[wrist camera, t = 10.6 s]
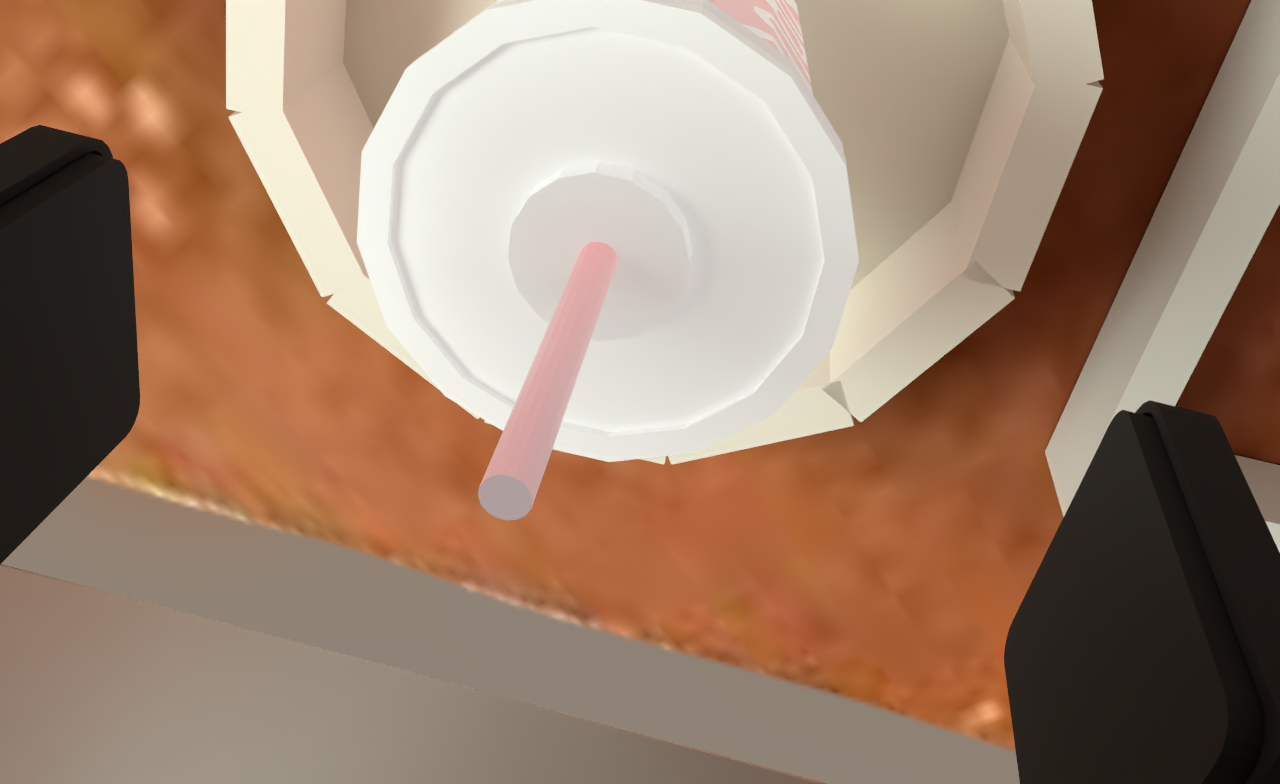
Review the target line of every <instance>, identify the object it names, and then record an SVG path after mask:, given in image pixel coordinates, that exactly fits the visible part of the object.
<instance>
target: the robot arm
mask: <svg viewBox="0 0 1280 784" xmlns="http://www.w3.org/2000/svg"><path fill="white" fill-rule="evenodd" d="M139 405H140V389H139V370H138V352H137V333H136V315H135V296H134V277H133V259H132V240H131V222H130V203H129V185H128V176H127V171H126V169H125V166H124V164H123V163H122V162H121V161H120V160H116V159H113V156H112V154H111V151H110V149H109V147H108V146H107V145H106V144H105V143H104V142H103V141H102V140H98V139H94V138H90V137H86V136H82V135H78V134H74V133H70V132H66V131H62V130H58V129H54V128H50V127H46V126H42V125H38V126H35V127H31V128H29V129H27V130H26V131H24V132H22V133H20V134H18V135H16V136H14V137H13V138H11V139H9V140H7V141H5V142H3V143H1V144H0V784H825V783H822V782H818V781H814V780H811V779H807V778H803V777H799V776H796V775H792V774H789V773H785V772H781V771H778V770H773V769H769V768H766V767H763V766H759V765H755V764H752V763H748V762H744V761H741V760H737V759H733V758H730V757H726V756H722V755H719V754H715V753H711V752H708V751H704V750H700V749H697V748H693V747H689V746H685V745H681V744H678V743H674V742H670V741H667V740H663V739H659V738H656V737H652V736H648V735H644V734H641V733H637V732H633V731H629V730H625V729H622V728H618V727H615V726H610V725H607V724H603V723H599V722H595V721H592V720H588V719H584V718H581V717H577V716H574V715H570V714H566V713H562V712H558V711H555V710H551V709H547V708H544V707H540V706H536V705H532V704H529V703H525V702H521V701H518V700H514V699H510V698H506V697H502V696H499V695H495V694H491V693H488V692H484V691H480V690H476V689H472V688H469V687H465V686H461V685H457V684H454V683H450V682H446V681H443V680H439V679H435V678H431V677H428V676H424V675H420V674H416V673H412V672H409V671H405V670H401V669H398V668H394V667H390V666H386V665H383V664H379V663H375V662H372V661H368V660H364V659H360V658H356V657H353V656H349V655H345V654H341V653H337V652H333V651H329V650H326V649H322V648H318V647H314V646H311V645H307V644H303V643H299V642H296V641H292V640H288V639H284V638H280V637H277V636H273V635H269V634H265V633H261V632H258V631H254V630H250V629H246V628H242V627H239V626H235V625H231V624H227V623H223V622H220V621H216V620H212V619H208V618H204V617H201V616H197V615H193V614H189V613H185V612H182V611H178V610H174V609H170V608H166V607H163V606H159V605H155V604H151V603H147V602H144V601H140V600H136V599H132V598H129V597H125V596H121V595H117V594H113V593H109V592H106V591H102V590H98V589H94V588H91V587H87V586H83V585H79V584H75V583H72V582H68V581H64V580H60V579H56V578H52V577H48V576H45V575H41V574H37V573H33V572H29V571H25V570H21V569H18V568H14V567H10V566H5V565H2V564H1V563H2V562H3V561H4V560H5V559H6V558H7V557H8V556H9V555H10V554H11V553H12V552H13V551H14V550H15V549H16V548H17V547H18V546H19V545H20V544H21V543H22V542H23V541H24V539H26V537H28V536H29V535H30V533H31V532H32V531H33V530H34V529H35V528H36V527H37V526H38V525H39V524H40V523H41V522H42V521H43V520H44V519H45V518H46V517H47V516H48V515H49V514H50V513H51V512H52V511H53V510H54V509H55V508H56V507H57V506H58V505H59V504H60V503H61V502H62V501H63V500H64V499H65V498H66V497H67V496H68V495H69V494H70V493H71V492H72V491H73V490H74V489H75V488H76V487H77V486H78V485H79V484H80V483H81V482H82V481H83V480H84V479H85V478H86V477H87V476H88V475H89V474H90V472H91V471H92V470H93V469H94V468H95V467H96V466H97V465H98V464H99V463H100V462H101V461H102V460H103V459H104V458H105V457H106V456H107V455H108V454H109V453H110V452H111V451H112V450H113V449H114V448H115V447H116V446H117V445H118V444H119V443H120V442H121V441H122V440H123V439H124V438H125V437H126V436H127V434H128V433H129V432H130V430H131V429H132V427H133V425H134V423H135V420H136V417H137V415H138V410H139ZM1004 663H1005V672H1006V680H1007V687H1008V695H1009V702H1010V710H1011V718H1012V725H1013V733H1014V740H1015V748H1016V756H1017V763H1018V770H1019V778H1020V784H1280V552H1279V550H1278V548H1277V546H1276V544H1275V541H1274V539H1273V537H1272V535H1271V533H1270V531H1269V529H1268V526H1267V524H1266V522H1265V520H1264V518H1263V516H1262V513H1261V511H1260V509H1259V507H1258V505H1257V503H1256V500H1255V498H1254V496H1253V494H1252V492H1251V490H1250V487H1249V485H1248V483H1247V481H1246V479H1245V477H1244V474H1243V472H1242V470H1241V468H1240V466H1239V464H1238V461H1237V459H1236V457H1235V455H1234V453H1233V451H1232V448H1231V446H1230V444H1229V442H1228V440H1227V438H1226V435H1225V433H1224V431H1223V429H1222V427H1221V425H1220V422H1219V421H1218V420H1217V419H1216V417H1215V416H1211V415H1207V414H1203V413H1199V412H1195V411H1191V410H1187V409H1183V408H1179V407H1175V406H1171V405H1167V404H1163V403H1159V402H1155V401H1151V400H1149V401H1147V402H1145V403H1143V404H1142V405H1141V406H1140V407H1139V409H1138V410H1137V411H1136V412H1135V413H1134V412H1130V411H1126V410H1122V411H1120V412H1118V413H1117V414H1116V415H1115V416H1114V418H1113V419H1112V421H1111V423H1110V424H1109V426H1108V428H1107V430H1106V432H1105V434H1104V436H1103V438H1102V440H1101V443H1100V445H1099V447H1098V449H1097V451H1096V453H1095V455H1094V457H1093V459H1092V461H1091V463H1090V465H1089V467H1088V469H1087V471H1086V473H1085V475H1084V477H1083V479H1082V481H1081V483H1080V485H1079V487H1078V489H1077V491H1076V493H1075V495H1074V497H1073V499H1072V502H1071V504H1070V506H1069V508H1068V510H1067V512H1066V514H1065V516H1064V518H1063V520H1062V522H1061V524H1060V526H1059V528H1058V530H1057V532H1056V534H1055V536H1054V538H1053V540H1052V542H1051V544H1050V546H1049V548H1048V550H1047V552H1046V554H1045V556H1044V558H1043V561H1042V563H1041V565H1040V567H1039V569H1038V571H1037V573H1036V575H1035V577H1034V579H1033V581H1032V583H1031V585H1030V587H1029V589H1028V591H1027V593H1026V595H1025V597H1024V599H1023V601H1022V603H1021V605H1020V607H1019V609H1018V611H1017V613H1016V615H1015V617H1014V620H1013V622H1012V624H1011V626H1010V629H1009V632H1008V636H1007V640H1006V645H1005V654H1004Z"/></svg>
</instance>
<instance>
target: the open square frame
mask: <svg viewBox="0 0 1280 784" xmlns="http://www.w3.org/2000/svg"><path fill="white" fill-rule="evenodd" d="M1279 204H1280V0H1251V3H1250V5H1249V7H1248V9H1247V11H1246V14H1245V16H1244V18H1243V20H1242V22H1241V24H1240V27H1239V29H1238V31H1237V33H1236V35H1235V38H1234V40H1233V42H1232V44H1231V46H1230V48H1229V51H1228V53H1227V55H1226V57H1225V59H1224V62H1223V64H1222V66H1221V68H1220V70H1219V72H1218V75H1217V77H1216V79H1215V81H1214V83H1213V86H1212V88H1211V90H1210V92H1209V94H1208V97H1207V99H1206V101H1205V103H1204V105H1203V107H1202V110H1201V112H1200V114H1199V116H1198V118H1197V121H1196V123H1195V125H1194V127H1193V129H1192V131H1191V134H1190V136H1189V138H1188V140H1187V142H1186V145H1185V147H1184V149H1183V151H1182V153H1181V156H1180V158H1179V160H1178V162H1177V164H1176V166H1175V169H1174V171H1173V173H1172V175H1171V177H1170V180H1169V182H1168V184H1167V186H1166V188H1165V190H1164V193H1163V195H1162V197H1161V199H1160V201H1159V204H1158V206H1157V208H1156V210H1155V212H1154V214H1153V217H1152V219H1151V221H1150V223H1149V225H1148V228H1147V230H1146V232H1145V234H1144V236H1143V239H1142V241H1141V243H1140V245H1139V247H1138V249H1137V252H1136V254H1135V256H1134V258H1133V260H1132V263H1131V265H1130V267H1129V269H1128V271H1127V273H1126V276H1125V278H1124V280H1123V282H1122V284H1121V287H1120V289H1119V291H1118V293H1117V295H1116V298H1115V300H1114V302H1113V304H1112V306H1111V308H1110V311H1109V313H1108V315H1107V317H1106V319H1105V322H1104V324H1103V326H1102V328H1101V330H1100V332H1099V335H1098V337H1097V339H1096V341H1095V343H1094V346H1093V348H1092V350H1091V352H1090V354H1089V356H1088V359H1087V361H1086V363H1085V365H1084V367H1083V370H1082V372H1081V374H1080V376H1079V378H1078V381H1077V383H1076V385H1075V387H1074V389H1073V391H1072V394H1071V396H1070V398H1069V400H1068V402H1067V405H1066V407H1065V409H1064V411H1063V413H1062V415H1061V418H1060V420H1059V422H1058V424H1057V426H1056V429H1055V431H1054V433H1053V435H1052V437H1051V440H1050V442H1049V444H1048V446H1047V448H1046V450H1045V454H1046V457H1047V461H1048V464H1049V468H1050V471H1051V475H1052V478H1053V482H1054V485H1055V489H1056V492H1057V496H1058V499H1059V503H1060V506H1061V510H1062V513H1063V517H1064V516H1065V514H1066V512H1067V510H1068V508H1069V506H1070V504H1071V502H1072V499H1073V497H1074V495H1075V493H1076V491H1077V489H1078V487H1079V485H1080V483H1081V481H1082V479H1083V477H1084V475H1085V473H1086V471H1087V469H1088V467H1089V465H1090V463H1091V461H1092V459H1093V457H1094V455H1095V453H1096V451H1097V449H1098V447H1099V445H1100V443H1101V440H1102V438H1103V436H1104V434H1105V432H1106V430H1107V428H1108V426H1109V424H1110V423H1111V421H1112V419H1113V418H1114V416H1115V415H1116V414H1117V413H1118V412H1120V411H1122V410H1126V411H1130V412H1134V413H1135V412H1136V411H1137V410H1138V409H1139V407H1140V406H1141V405H1142V404H1143V403H1145V402H1147V401H1149V400H1151V401H1155V402H1159V403H1163V404H1167V405H1171V406H1175V405H1176V403H1177V401H1178V399H1179V397H1180V395H1181V394H1182V392H1183V390H1184V388H1185V386H1186V384H1187V382H1188V380H1189V378H1190V376H1191V374H1192V372H1193V370H1194V368H1195V366H1196V365H1197V363H1198V361H1199V359H1200V357H1201V355H1202V353H1203V351H1204V349H1205V347H1206V345H1207V343H1208V341H1209V339H1210V337H1211V336H1212V334H1213V332H1214V330H1215V328H1216V326H1217V324H1218V322H1219V320H1220V318H1221V316H1222V314H1223V312H1224V310H1225V308H1226V307H1227V305H1228V303H1229V301H1230V299H1231V297H1232V295H1233V293H1234V291H1235V289H1236V287H1237V285H1238V283H1239V281H1240V279H1241V278H1242V276H1243V274H1244V272H1245V270H1246V268H1247V266H1248V264H1249V262H1250V260H1251V258H1252V256H1253V254H1254V252H1255V251H1256V249H1257V247H1258V245H1259V243H1260V241H1261V239H1262V237H1263V235H1264V233H1265V231H1266V229H1267V227H1268V225H1269V223H1270V222H1271V220H1272V218H1273V216H1274V214H1275V212H1276V210H1277V208H1278V206H1279ZM1235 457H1236V459H1237V461H1238V464H1239V466H1240V468H1241V470H1242V472H1243V474H1244V477H1245V479H1246V481H1247V483H1248V485H1249V487H1250V490H1251V492H1252V494H1253V496H1254V498H1255V500H1256V503H1257V505H1258V507H1259V509H1260V511H1261V513H1262V516H1263V518H1264V520H1265V522H1266V524H1267V526H1268V529H1269V531H1270V533H1271V535H1272V537H1273V539H1274V541H1275V544H1276V546H1277V548H1278V550H1279V552H1280V465H1276V464H1272V463H1268V462H1263V461H1259V460H1255V459H1250V458H1246V457H1242V456H1237V455H1235Z"/></svg>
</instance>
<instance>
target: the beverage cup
mask: <svg viewBox="0 0 1280 784" xmlns="http://www.w3.org/2000/svg"><path fill="white" fill-rule="evenodd" d="M357 245H358V247H359V250H360V253H361V256H362V259H363V261H364V264H365V267H366V270H367V273H368V275H369V278H370V281H371V284H372V287H373V289H374V292H375V295H376V298H377V301H378V304H379V306H380V309H381V312H382V315H383V318H384V320H385V323H386V326H387V328H388V329H389V330H390V331H391V332H392V334H393V335H394V336H395V337H396V338H397V340H398V341H399V342H400V343H401V344H402V345H403V347H404V348H405V349H406V350H407V351H408V353H409V354H410V355H411V356H412V357H413V359H414V360H415V361H416V362H417V363H418V364H419V366H420V367H421V368H422V369H423V370H424V372H425V373H426V374H427V375H428V376H429V378H430V379H431V380H432V381H433V382H434V383H435V385H436V386H437V387H438V388H439V389H440V391H441V392H442V393H443V394H444V395H445V396H446V397H448V398H449V399H451V400H453V401H454V402H456V403H458V404H459V405H461V406H463V407H464V408H466V409H468V410H469V411H471V412H473V413H474V414H476V415H478V416H479V417H481V418H483V419H484V420H486V421H488V422H489V423H491V424H492V425H494V426H496V427H497V428H499V429H501V430H502V431H503V433H502V435H501V437H500V440H499V442H498V445H497V447H496V449H495V452H494V454H493V456H492V459H491V461H490V463H489V466H488V468H487V470H486V473H485V475H484V477H483V480H482V482H481V484H480V487H479V493H478V497H479V500H480V503H481V505H482V506H483V508H484V509H485V510H486V511H487V512H488V513H490V514H491V515H493V516H495V517H496V518H500V519H504V520H515V519H519V518H521V517H523V516H525V515H527V513H528V512H529V511H530V509H531V508H532V505H533V502H534V500H535V497H536V494H537V491H538V488H539V485H540V483H541V480H542V477H543V474H544V471H545V468H546V466H547V463H548V460H549V457H550V454H551V451H552V449H554V450H558V451H563V452H567V453H572V454H576V455H580V456H585V457H589V458H594V459H598V460H603V461H607V462H613V461H622V460H632V459H641V458H651V457H660V456H670V455H679V454H689V453H697V452H699V451H701V450H703V449H705V448H707V447H709V446H711V445H713V444H715V443H717V442H719V441H721V440H723V439H725V438H727V437H729V436H731V435H733V434H735V433H737V432H739V431H741V430H743V429H745V428H747V427H749V426H751V425H753V424H755V423H757V422H759V421H762V420H764V419H766V418H768V417H770V416H772V415H774V414H775V413H776V412H777V410H778V409H779V408H780V407H781V406H782V405H783V404H784V403H785V401H786V400H787V399H788V398H789V397H790V396H791V395H792V393H793V392H794V391H795V390H796V389H797V388H798V387H799V386H800V384H801V383H802V382H803V381H804V380H805V379H806V378H807V376H808V375H809V374H810V373H811V372H812V371H813V370H814V368H815V367H816V366H817V365H818V364H819V363H820V362H821V361H822V359H823V358H824V357H825V356H826V355H827V354H828V353H829V351H830V350H831V349H832V347H833V344H834V341H835V337H836V334H837V331H838V328H839V324H840V321H841V318H842V315H843V311H844V308H845V305H846V302H847V299H848V295H849V292H850V289H851V286H852V282H853V279H854V276H855V273H856V270H857V266H858V263H859V257H858V247H857V240H856V232H855V224H854V217H853V209H852V202H851V194H850V187H849V179H848V172H847V164H846V157H845V156H844V151H843V143H842V142H841V140H840V138H839V137H838V135H837V134H836V132H835V130H834V129H833V127H832V125H831V124H830V122H829V121H828V119H827V117H826V116H825V114H824V112H823V111H822V109H821V108H820V106H819V104H818V103H817V101H816V99H815V98H814V96H813V92H812V87H811V81H810V76H809V70H808V65H807V59H806V53H805V48H804V42H803V37H802V31H801V26H800V20H799V14H798V9H797V5H796V3H795V1H794V0H498V1H497V2H495V3H494V4H492V5H491V6H489V7H488V8H486V9H485V10H484V11H482V12H481V13H480V14H478V15H477V16H475V17H474V18H473V19H471V20H470V21H469V22H467V23H466V24H464V25H463V26H462V27H460V28H459V29H458V30H456V31H455V32H454V33H452V34H451V35H449V36H448V37H447V38H445V39H444V40H443V41H441V42H440V43H438V44H437V45H436V46H434V47H433V48H432V49H430V50H429V51H427V52H426V53H425V54H423V55H422V56H421V57H419V58H418V59H416V60H415V61H414V62H413V63H411V64H410V65H409V66H408V67H407V68H406V69H405V71H404V73H403V75H402V77H401V79H400V81H399V83H398V84H397V86H396V88H395V90H394V92H393V94H392V96H391V97H390V99H389V101H388V103H387V105H386V107H385V109H384V111H383V112H382V114H381V116H380V118H379V120H378V122H377V124H376V125H375V127H374V129H373V131H372V133H371V135H370V137H369V139H368V140H367V142H366V144H365V146H364V148H363V150H362V153H361V171H360V189H359V207H358V226H357Z"/></svg>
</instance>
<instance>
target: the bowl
mask: <svg viewBox="0 0 1280 784" xmlns="http://www.w3.org/2000/svg"><path fill="white" fill-rule="evenodd" d="M497 1H498V0H226V109H230V110H234V111H236V112H234V113H233V114H232V115H230V116H229V119H230V121H231V123H232V125H233V127H234V129H235V131H236V133H237V135H238V137H239V139H240V140H241V142H242V144H243V146H244V148H245V150H246V152H247V154H248V156H249V158H250V160H251V162H252V164H253V166H254V168H255V169H256V171H257V173H258V175H259V177H260V179H261V181H262V183H263V185H264V187H265V189H266V191H267V193H268V195H269V196H270V198H271V200H272V202H273V204H274V206H275V208H276V210H277V212H278V214H279V216H280V218H281V220H282V222H283V224H284V225H285V227H286V229H287V231H288V233H289V235H290V237H291V239H292V241H293V243H294V245H295V247H296V249H297V251H298V253H299V254H300V256H301V258H302V260H303V262H304V264H305V266H306V268H307V270H308V272H309V274H310V276H311V278H312V280H313V281H314V283H315V285H316V287H317V289H318V291H319V293H320V295H321V297H324V296H328V295H331V294H334V295H333V296H332V297H331V298H330V300H329V301H328V302H327V304H328V305H330V306H331V307H332V308H334V309H335V310H336V311H338V312H339V313H340V314H341V315H343V316H344V317H345V318H347V319H348V320H349V321H351V322H352V323H353V324H354V325H356V326H357V327H358V328H360V329H361V330H362V331H364V332H365V333H366V334H367V335H369V336H370V337H371V338H373V339H374V340H375V341H377V342H378V343H379V344H380V345H382V346H383V347H384V348H386V349H387V350H388V351H390V352H391V353H392V354H393V355H395V356H396V357H397V358H399V359H400V360H401V361H403V362H404V363H405V364H406V365H408V366H409V367H410V368H412V369H413V370H414V371H416V372H417V373H418V374H419V375H421V376H422V377H423V378H425V379H426V380H427V381H428V382H430V383H431V384H432V385H434V386H435V387H436V388H438V387H437V386H436V385H435V383H434V382H433V381H432V380H431V379H430V378H429V376H428V375H427V374H426V373H425V372H424V370H423V369H422V368H421V367H420V366H419V364H418V363H417V362H416V361H415V360H414V359H413V357H412V356H411V355H410V354H409V353H408V351H407V350H406V349H405V348H404V347H403V345H402V344H401V343H400V342H399V341H398V340H397V338H396V337H395V336H394V335H393V334H392V332H391V331H390V330H389V329H388V328H387V326H386V323H385V320H384V318H383V315H382V312H381V309H380V306H379V304H378V301H377V298H376V295H375V292H374V289H373V287H372V284H371V281H370V278H369V275H368V273H367V270H366V267H365V264H364V261H363V259H362V256H361V253H360V250H359V247H358V245H357V226H358V207H359V189H360V171H361V153H362V150H363V148H364V146H365V144H366V142H367V140H368V139H369V137H370V135H371V133H372V131H373V129H374V127H375V125H376V124H377V122H378V120H379V118H380V116H381V114H382V112H383V111H384V109H385V107H386V105H387V103H388V101H389V99H390V97H391V96H392V94H393V92H394V90H395V88H396V86H397V84H398V83H399V81H400V79H401V77H402V75H403V73H404V71H405V69H406V68H407V67H408V66H409V65H410V64H411V63H413V62H414V61H415V60H416V59H418V58H419V57H421V56H422V55H423V54H425V53H426V52H427V51H429V50H430V49H432V48H433V47H434V46H436V45H437V44H438V43H440V42H441V41H443V40H444V39H445V38H447V37H448V36H449V35H451V34H452V33H454V32H455V31H456V30H458V29H459V28H460V27H462V26H463V25H464V24H466V23H467V22H469V21H470V20H471V19H473V18H474V17H475V16H477V15H478V14H480V13H481V12H482V11H484V10H485V9H486V8H488V7H489V6H491V5H492V4H494V3H495V2H497ZM794 1H795V3H796V5H797V9H798V14H799V20H800V26H801V31H802V37H803V42H804V48H805V53H806V59H807V65H808V70H809V76H810V81H811V87H812V92H813V96H814V98H815V99H816V101H817V103H818V104H819V106H820V108H821V109H822V111H823V112H824V114H825V116H826V117H827V119H828V121H829V122H830V124H831V125H832V127H833V129H834V130H835V132H836V134H837V135H838V137H839V138H840V140H841V142H842V143H843V151H844V156H845V157H846V164H847V172H848V179H849V187H850V194H851V202H852V209H853V217H854V224H855V232H856V240H857V247H858V257H859V263H858V266H857V270H856V273H855V276H854V279H853V282H852V286H851V289H850V292H849V295H848V299H847V302H846V305H845V308H844V311H843V315H842V318H841V321H840V324H839V328H838V331H837V334H836V337H835V341H834V344H833V347H832V349H831V350H830V351H829V353H828V354H827V355H826V356H825V357H824V358H823V359H822V361H821V362H820V363H819V364H818V365H817V366H816V367H815V368H814V370H813V371H812V372H811V373H810V374H809V375H808V376H807V378H806V379H805V380H804V381H803V382H802V383H801V384H800V386H799V387H798V388H797V389H796V390H795V391H794V392H793V393H792V395H791V396H790V397H789V398H788V399H787V400H786V401H785V403H784V404H783V405H782V406H781V407H780V408H779V409H778V410H777V412H776V413H775V414H774V415H772V416H770V417H768V418H766V419H764V420H762V421H759V422H757V423H755V424H753V425H751V426H749V427H747V428H745V429H743V430H741V431H739V432H737V433H735V434H733V435H731V436H729V437H727V438H725V439H723V440H721V441H719V442H717V443H715V444H713V445H711V446H709V447H707V448H705V449H703V450H701V451H699V452H697V453H689V454H679V455H670V456H668V457H669V459H670V462H671V465H672V464H677V463H681V462H686V461H691V460H695V459H700V458H705V457H710V456H714V455H719V454H724V453H728V452H733V451H738V450H742V449H747V448H752V447H757V446H761V445H766V444H771V443H775V442H780V441H785V440H789V439H794V438H799V437H804V436H808V435H813V434H818V433H822V432H827V431H832V430H836V429H841V428H846V427H851V426H854V417H855V418H856V419H857V420H859V421H860V422H862V421H863V420H865V419H866V418H867V417H868V416H870V415H871V414H872V413H873V412H875V411H876V410H877V409H878V408H880V407H881V406H882V405H883V404H885V403H886V402H887V401H888V400H889V399H891V398H892V397H893V396H894V395H896V394H897V393H898V392H899V391H901V390H902V389H903V388H904V387H906V386H907V385H908V384H909V383H911V382H912V381H913V380H914V379H916V378H917V377H918V376H919V375H920V374H922V373H923V372H924V371H925V370H927V369H928V368H929V367H930V366H932V365H933V364H934V363H935V362H937V361H938V360H939V359H940V358H942V357H943V356H944V355H945V354H947V353H948V352H949V351H950V350H952V349H953V348H954V347H955V346H956V345H958V344H959V343H960V342H961V341H963V340H964V339H965V338H966V337H968V336H969V335H970V334H971V333H973V332H974V331H975V330H976V329H978V328H979V327H980V326H981V325H983V324H984V323H985V322H986V321H988V320H989V319H990V318H991V317H992V316H994V315H995V314H996V313H997V312H999V311H1000V310H1001V309H1002V308H1004V307H1005V306H1006V305H1007V304H1009V303H1010V302H1011V301H1012V300H1014V299H1015V296H1014V293H1013V290H1015V291H1021V288H1022V286H1023V283H1024V281H1025V278H1026V276H1027V274H1028V271H1029V269H1030V266H1031V264H1032V261H1033V259H1034V256H1035V254H1036V251H1037V249H1038V247H1039V244H1040V242H1041V239H1042V237H1043V234H1044V232H1045V229H1046V227H1047V224H1048V222H1049V220H1050V217H1051V215H1052V212H1053V210H1054V207H1055V205H1056V202H1057V200H1058V197H1059V195H1060V193H1061V190H1062V188H1063V185H1064V183H1065V180H1066V178H1067V175H1068V173H1069V170H1070V168H1071V166H1072V163H1073V161H1074V158H1075V156H1076V153H1077V151H1078V148H1079V146H1080V143H1081V141H1082V139H1083V136H1084V134H1085V131H1086V129H1087V126H1088V124H1089V121H1090V119H1091V116H1092V114H1093V112H1094V109H1095V107H1096V104H1097V102H1098V99H1099V97H1100V94H1101V92H1102V89H1103V88H1102V86H1101V85H1100V83H1099V82H1098V81H1099V80H1102V79H1104V75H1103V69H1102V62H1101V56H1100V50H1099V43H1098V37H1097V30H1096V24H1095V18H1094V11H1093V5H1092V0H794ZM438 389H439V388H438ZM439 390H440V389H439ZM457 404H458V403H457ZM458 405H459V404H458ZM460 406H461V405H460ZM461 407H462V408H464V407H463V406H461ZM464 409H465V410H466V411H467V412H469V413H470V414H471V415H473V416H474V417H475V418H477V419H478V418H479V416H478V415H476V414H474V413H473V412H471V411H469V410H468V409H466V408H464ZM484 423H489V422H488V421H486V420H485V422H484ZM489 424H491V423H489ZM641 459H643V460H647V461H651V462H656V463H660V464H664V463H665V459H666V456H660V457H651V458H641Z"/></svg>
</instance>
